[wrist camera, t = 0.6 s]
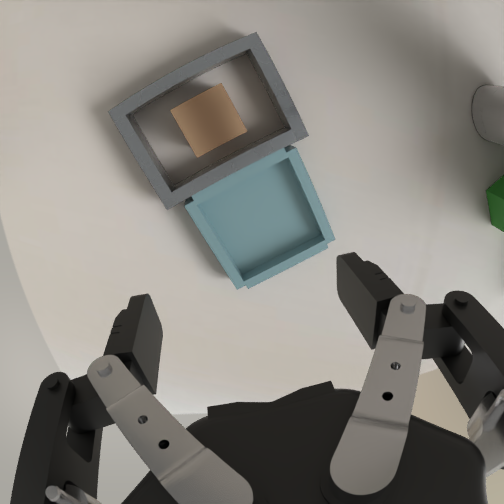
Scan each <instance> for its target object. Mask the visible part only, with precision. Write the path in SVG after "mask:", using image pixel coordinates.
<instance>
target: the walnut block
mask: <svg viewBox="0 0 504 504" xmlns="http://www.w3.org/2000/svg"><path fill="white" fill-rule="evenodd" d="M170 111H171V113H172V115H173V116H174V118H175V120H176V122H177V123H178V125H179V127H180V129H181V130H182V132H183V134H184V136H185V137H186V139H187V141H188V143H189V144H190V146H191V148H192V150H193V152H194V153H195V155H196V157H197V158H198V157H200V156H202V155H203V154H205V153H207V152H209V151H211V150H213V149H214V148H216V147H218V146H220V145H222V144H224V143H226V142H228V141H230V140H232V139H233V138H235V137H237V136H239V135H241V134H243V133H245V132H247V130H246V128H245V126H244V124H243V122H242V120H241V118H240V116H239V115H238V113H237V111H236V109H235V107H234V105H233V103H232V102H231V100H230V98H229V96H228V94H227V92H226V90H225V89H224V87H223V85H222V83H220V84H218V85H216V86H214V87H212V88H210V89H208V90H206V91H204V92H203V93H201V94H199V95H197V96H195V97H193V98H191V99H189V100H188V101H186V102H184V103H182V104H180V105H179V106H177V107H175V108H173V109H172V110H170Z"/></svg>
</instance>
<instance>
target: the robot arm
mask: <svg viewBox="0 0 504 504" xmlns="http://www.w3.org/2000/svg"><path fill="white" fill-rule="evenodd" d="M472 115H473V121H474V124H475V127H476V129H477V131H478V133H479V134H480V136H481V137H482V138H484V139H485V140H488V141H491V142H495V143H498V144H501V145H504V87H501V86H491V85H483V86H481V87H480V88H478V90H477V91H476V93H475V95H474V99H473V104H472ZM337 291H338V295H339V298H340V300H341V302H342V303H343V305H344V306H345V308H346V310H347V311H348V313H349V314H350V316H351V318H352V319H353V321H354V322H355V324H356V326H357V327H358V329H359V330H360V332H361V334H362V335H363V337H364V338H365V340H366V342H367V343H368V345H369V347H370V348H371V350H372V349H375V352H374V355H373V358H372V361H371V364H370V367H369V370H368V373H367V376H366V379H365V382H364V385H363V388H362V390H361V392H360V391H356V390H351V389H334V387H333V384H332V382H331V381H328V382H324V383H321V384H317V385H313V386H309V387H305V388H301V389H299V390H297V391H295V392H293V393H291V394H289V395H286V396H284V397H282V398H280V399H278V400H275V401H273V402H235V403H229V404H223V405H216V406H210V407H207V409H208V416H206V417H203V418H201V419H199V420H197V421H196V422H194V423H192V424H191V425H190V426H188V427H187V428H186V429H185V428H184V427H183V426H182V425H181V424H180V423H179V422H178V421H177V420H176V419H175V418H174V417H173V416H172V415H171V414H170V413H169V411H168V410H167V409H166V408H165V407H164V406H163V405H162V404H161V403H160V402H159V401H158V400H157V399H156V398H155V397H154V395H153V394H156V389H157V380H158V370H159V362H160V353H161V345H162V338H163V331H162V326H161V322H160V320H159V317H158V315H157V312H156V310H155V307H154V305H153V302H152V299H151V297H150V295H149V294H143V295H137V296H132V297H131V298H130V301H129V304H128V307H127V309H124V310H122V311H121V312H120V313H119V314H118V316H117V317H116V318H115V321H114V324H113V328H112V330H111V335H110V336H109V339H108V342H107V345H106V348H105V351H104V355H103V356H102V357H99V358H97V359H96V360H95V361H93V362H92V363H91V365H90V366H89V368H88V371H87V374H86V375H84V376H81V377H78V378H75V379H73V380H70V379H69V377H68V376H67V375H66V374H65V373H63V372H56V373H53V374H51V375H49V376H48V377H46V378H45V379H44V380H43V382H42V383H41V385H40V388H39V391H38V394H37V397H36V400H35V403H34V406H33V409H32V412H31V416H30V419H29V422H28V426H27V430H26V433H25V437H24V441H23V444H22V448H21V452H20V456H19V461H18V465H17V470H16V474H15V480H14V485H13V490H12V497H11V502H10V504H101V503H100V502H99V501H98V500H97V484H98V469H99V458H100V449H101V439H102V431H103V427H105V426H108V425H111V424H114V423H116V425H117V426H118V428H119V429H120V430H121V432H122V433H123V435H124V436H125V438H126V439H127V440H128V442H129V443H130V444H131V446H132V447H133V448H134V450H135V451H136V452H137V454H138V455H139V456H140V458H141V459H142V460H143V461H144V463H145V464H146V465H147V466H148V468H149V469H150V471H149V472H148V473H147V475H146V476H145V477H144V478H143V480H142V481H141V482H140V483H139V484H138V485H137V486H136V487H135V489H134V490H133V491H132V492H131V493H130V494H129V496H128V497H127V498H126V499H125V500H124V501H123V502H122V503H121V504H488V501H487V495H486V477H488V476H489V475H491V474H492V473H494V472H496V471H497V470H499V469H504V329H503V327H502V326H501V325H500V324H499V323H498V322H497V321H496V320H495V319H494V318H493V316H492V315H491V314H490V313H489V312H488V311H487V310H486V309H485V308H484V307H483V306H482V305H481V304H480V303H479V302H478V301H477V300H476V299H475V298H474V297H473V296H472V295H471V294H469V293H467V292H464V291H452V292H449V293H448V294H447V295H446V296H445V299H444V303H443V304H428V305H426V304H425V302H424V301H423V300H422V299H421V298H420V297H418V296H415V295H411V294H404V293H403V292H402V291H401V290H400V289H399V288H398V287H397V286H396V285H395V283H394V282H393V281H392V280H391V279H390V278H388V276H387V275H386V274H385V273H384V272H383V271H382V270H381V269H380V267H379V266H378V265H376V264H374V263H372V262H370V261H363V260H362V259H361V258H360V257H359V256H358V255H357V254H356V253H355V252H352V253H347V254H343V255H338V256H337ZM465 343H466V345H467V346H468V347H469V348H470V350H471V352H472V354H471V353H470V352H469V350H468V349H467V348H466V347H465V345H464V344H465ZM430 358H433V360H434V361H435V363H436V365H437V366H438V368H439V369H440V371H441V372H442V374H443V375H444V377H445V379H446V380H447V382H448V383H449V385H450V387H451V388H452V390H453V391H454V393H455V395H456V396H457V398H458V400H459V402H460V403H461V405H462V406H463V408H464V409H465V412H466V413H467V415H468V417H469V418H470V420H469V422H468V425H467V431H468V435H469V439H467V438H465V437H463V436H461V435H458V434H456V433H453V432H451V431H448V430H446V429H443V428H441V427H439V426H436V425H434V424H432V423H429V422H427V421H425V420H422V419H420V418H418V417H416V416H413V415H411V412H412V407H413V402H414V398H415V393H416V388H417V383H418V377H419V371H420V365H421V359H430ZM68 426H69V427H68ZM67 427H68V432H67ZM66 432H67V437H66Z"/></svg>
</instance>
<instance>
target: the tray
mask: <svg viewBox="0 0 504 504" xmlns="http://www.w3.org/2000/svg"><path fill="white" fill-rule="evenodd" d="M185 208H186V210H187V211H188V213H189V214H190V216H191V218H192V219H193V221H194V222H195V224H196V226H197V227H198V229H199V230H200V232H201V234H202V235H203V237H204V238H205V240H206V242H207V243H208V245H209V246H210V248H211V250H212V251H213V253H214V254H215V256H216V257H217V259H218V261H219V262H220V264H221V265H222V267H223V268H224V270H225V272H226V273H227V275H228V276H229V278H230V279H231V281H232V282H233V284H234V285H235V287H236V289H239V288H241V287H243V286H245V285H246V286H247V288H248V289H249V288H251V287H253V286H255V285H257V284H259V283H261V282H263V281H265V280H267V279H269V278H271V277H273V276H275V275H277V274H279V273H281V272H283V271H285V270H286V269H288V268H290V267H292V266H294V265H296V264H298V263H300V262H302V261H304V260H306V259H308V258H310V257H312V256H314V255H316V254H318V253H319V252H321V251H323V250H325V249H327V248H328V246H327V244H328V243H330V242H331V241H333V240H335V237H334V235H333V232H332V230H331V227H330V225H329V222H328V220H327V217H326V215H325V212H324V210H323V208H322V205H321V203H320V200H319V198H318V196H317V193H316V191H315V189H314V186H313V184H312V182H311V179H310V177H309V175H308V173H307V170H306V168H305V166H304V164H303V161H302V159H301V157H300V155H299V153H298V151H297V148H296V147H294V146H291V145H289V146H287V147H285V148H282V149H280V150H278V151H276V152H274V153H272V154H270V155H268V156H266V157H264V158H262V159H260V160H258V161H256V162H254V163H252V164H250V165H248V166H246V167H244V168H242V169H240V170H238V171H237V172H235V173H233V174H231V175H229V176H227V177H225V178H223V179H221V180H220V181H218V182H216V183H214V184H212V185H210V186H209V187H207V188H205V189H203V190H201V191H199V192H198V193H196V194H194V195H192V196H191V197H189V198H188V199H186V201H185Z"/></svg>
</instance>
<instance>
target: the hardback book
mask: <svg viewBox="0 0 504 504" xmlns="http://www.w3.org/2000/svg"><path fill="white" fill-rule="evenodd" d="M486 194H487V199H488V205H489V211H490V217H491V223H492V225H493V226H495V227H496V228H498V229H500V230H501V231H503V232H504V175H503V176H502V177H501V178H500V179H498V180H497V181H496V182H495V183H494V184H493V185H492V186H491V187H489V188H488V189H487V190H486Z"/></svg>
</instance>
